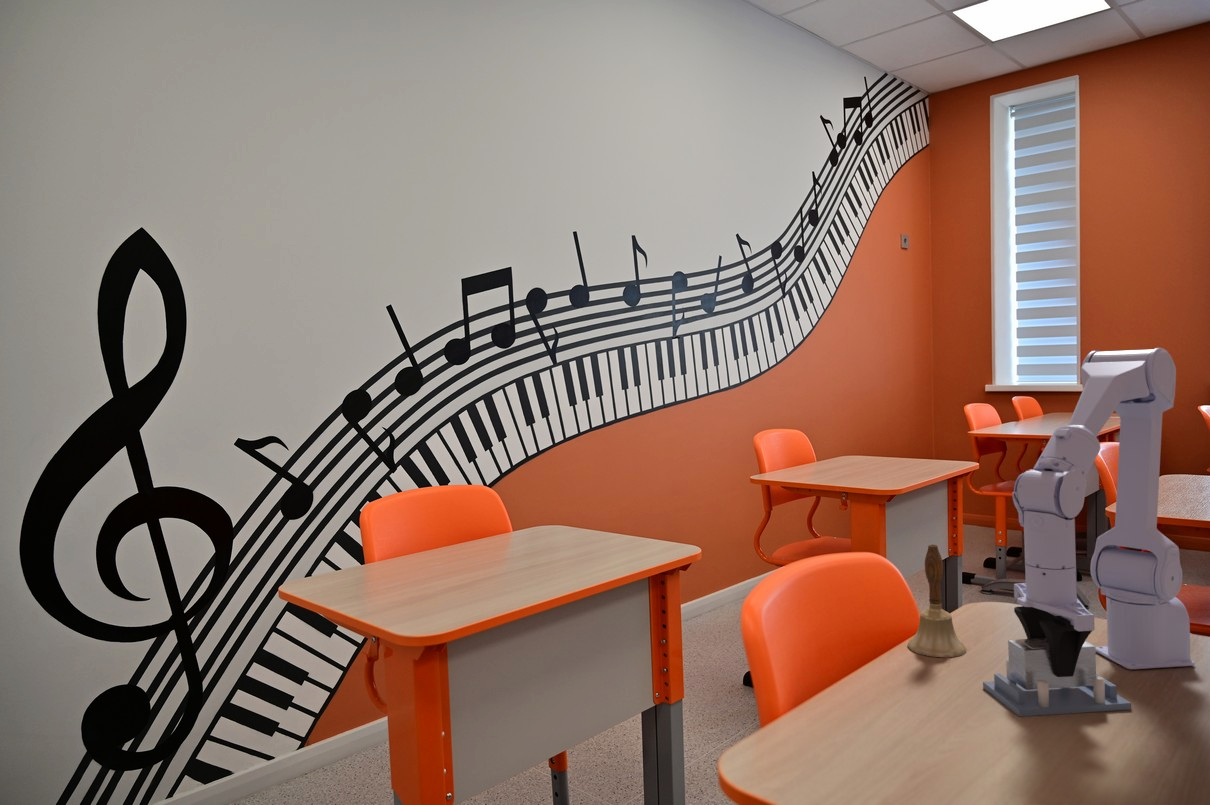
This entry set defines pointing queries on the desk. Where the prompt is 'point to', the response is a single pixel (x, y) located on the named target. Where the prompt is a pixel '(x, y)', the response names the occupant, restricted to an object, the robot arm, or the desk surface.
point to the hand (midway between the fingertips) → (1053, 669)
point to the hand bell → (935, 617)
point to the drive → (1047, 665)
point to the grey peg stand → (1056, 697)
